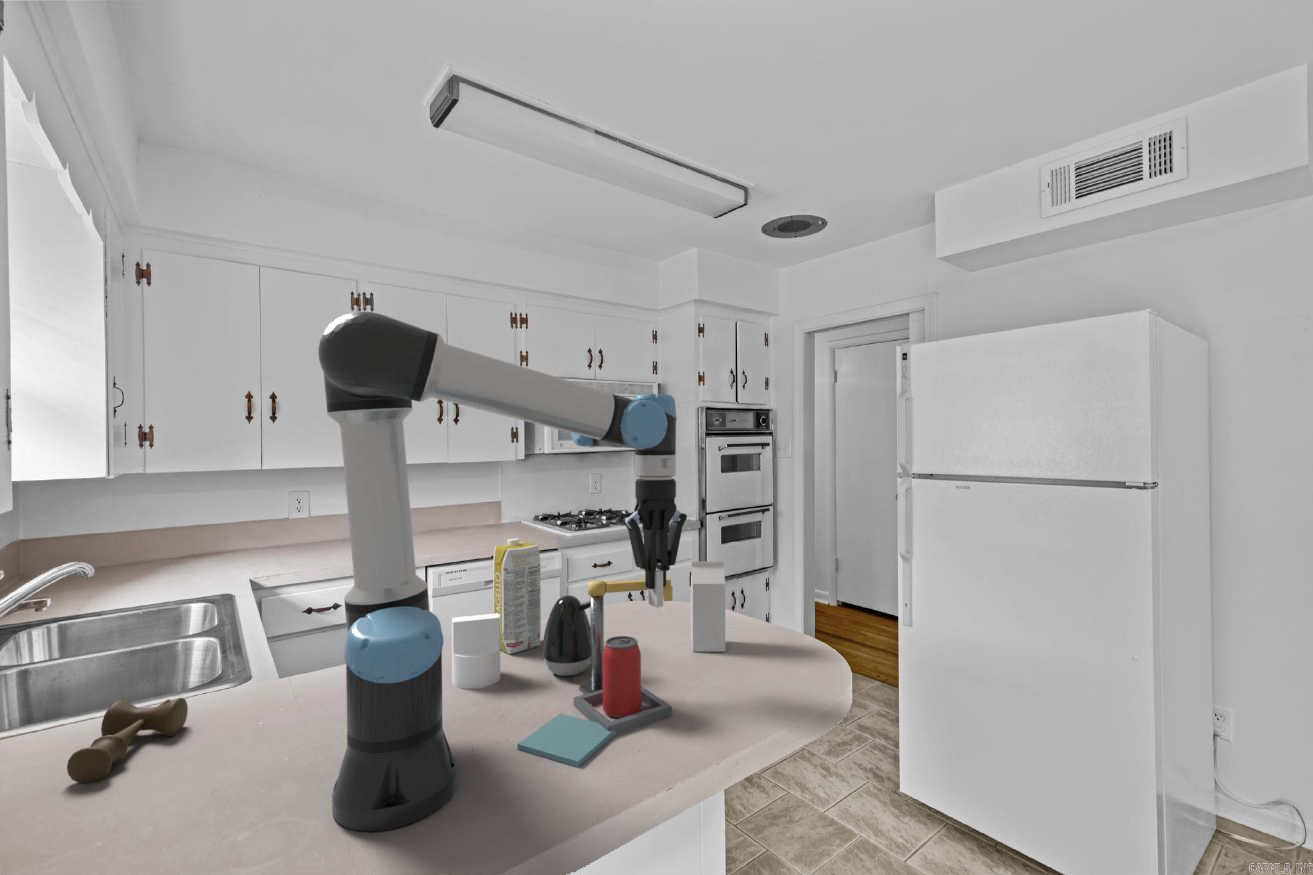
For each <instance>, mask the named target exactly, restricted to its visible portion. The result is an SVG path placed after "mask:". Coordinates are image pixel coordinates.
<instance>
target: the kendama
mask: <svg viewBox="0 0 1313 875" xmlns="http://www.w3.org/2000/svg"><path fill="white" fill-rule="evenodd" d="M188 711H189V709H188V703H187V700H186V698H182V697H179V698H175V699H173V700H171V699H169V698H168V699H166V700H164V701H162V702H161V703H160V704H159V705H157V706H153V707H152V706H151V707H137V706H136V705H134V704H133V703H131V702H129V701H127V700H123V699H119V700H117V701H115V702H113V703H112V704H111V705H110V706H109V707H108V708H107V710H106V712H105V713H104V716H103V718H102V722H101V727H100V728H101V729H100V731H101V736H100V737H98V738H96V739H94V740H93V742H92V743H91V745H90V746H89V747H84V748H80V749H79V750H77V751H75V752H73V753H72V754H71V756H70V757H69V759H68V761H67V764H66V769H67V774H68V776H69V777H70V778H71V780H72V781H74V782H76V783H79V784H90V783H96V782H99V781H101V780H103V779H104V778H106V777H107V776H108V775H109V773H110V771H111V769H112V765H113V764H116V763H118V762H120V761H122V760H123V759H124V757H125V756H126V755H127V753H128V745H129V744H130V742H131V741H132V740H133V739H134V738H135V736H137V734H138V733H140V731H155V732H159V733H161V734H163V735H165V736H169V737H173V736H176V735H177V734H178V733H179V732H180V731H181V730H182V729H183V728H184V726H185V723H186V722H187V718H188V717H187V716H188Z"/></svg>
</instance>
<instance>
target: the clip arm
mask: <svg viewBox="0 0 1313 875" xmlns="http://www.w3.org/2000/svg"><path fill="white" fill-rule="evenodd" d="M587 586H588V587H587V590H588V592H587V594H588V595H589V596H601V595H604V596H605V595H606V594H608V593H609V594H611V593H624V592H636V591H638V592H639V591H640V592H641V591H649V588H646V585H645V578H644V579H630V580H617V581H616V580H615V581H605V580H591V581H589V582H587ZM673 598H674V597H673V586H672V579H671V578H670V577H666V586H665V587H663V602H671V601H673V600H674V599H673Z"/></svg>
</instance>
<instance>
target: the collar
mask: <svg viewBox="0 0 1313 875" xmlns="http://www.w3.org/2000/svg"><path fill="white" fill-rule="evenodd" d="M641 701H642V702H644V703H645V704H647V705H648V706H650V707H651V708H649V709H646V710H643V711H639V712H638V713H636V714H633V715H630V716H627V717H623V718H616V719H614V720H609V718H608V717H606V716H605V715H604V714H602V713H601V712H600V711H599V710H598V709H596V707H594V706H593V705H594V704H598V703H601V702H603V690H599V691H595V692H592V693H588V694H584V693H583V694H580V695H578V696H574V697H573V707H574V708H575V709H577V711H578V712H580V713H581V714H582V715H583V716H584V717H585V718H587V720H589V721H593V722H597V723H599V724H600V725H601V726H603V727H604V728H605V729H606V730H607V731H609V730H612V729H615V728H616V734H617V733H621V732H624V731H627V730H630V729H634V728H636V727H639V726H642V725H646V724H649V723H651V722H655V721H658V720H661V719H664V718H668V717H671V716H672V715H673V706H672V705H670V704H669V703H668V702H666V701H664V700H663V699H662V698H661V697H658V696H657V695H655V694H654V693H653V692H652V691H650V690H648V689H646V688H645V687H644V686H642V685H641Z"/></svg>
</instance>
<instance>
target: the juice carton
mask: <svg viewBox="0 0 1313 875" xmlns="http://www.w3.org/2000/svg"><path fill="white" fill-rule="evenodd" d="M493 550H494V551H493V562H492V566H493V570H492V572H493V574H492V575H493V576H492V578H493V579H492V580H493V581H492V583H493V584H492V586H493V589H492V590H493V593H492V594H493V596H492V597H493V598H492V599H493V601H492V603H493V604H492V605H493V607H492V608H493V610H492V611H493V613H492V614H496V613H498V614H499V615H500V651H501V652H502V651H503V652H504V653H506V654H508V655H513V654H516V653H519V652H522V651H526V650H530V649H534V648H537V647H539V646H540V643H541V642H540V641H541V621H542V620H541V618H542V617H541V616H542V614H541V613H542V612H541V553H540V552H541V551H540V546H539V545H538V544H535V543H532V542H528V541H522V542H521V541H520V538H510V539H507V544H501V545H495V546H494V549H493Z"/></svg>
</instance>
